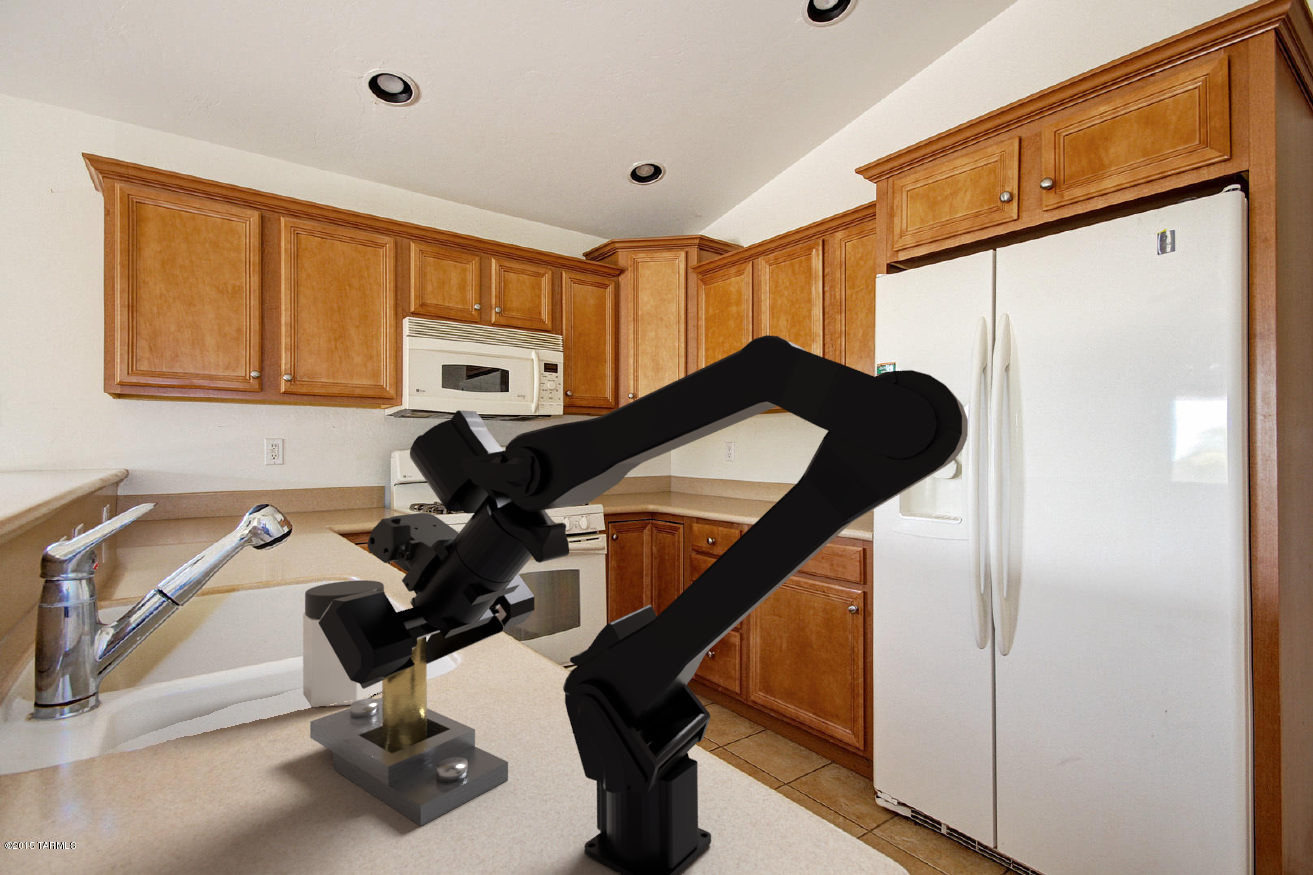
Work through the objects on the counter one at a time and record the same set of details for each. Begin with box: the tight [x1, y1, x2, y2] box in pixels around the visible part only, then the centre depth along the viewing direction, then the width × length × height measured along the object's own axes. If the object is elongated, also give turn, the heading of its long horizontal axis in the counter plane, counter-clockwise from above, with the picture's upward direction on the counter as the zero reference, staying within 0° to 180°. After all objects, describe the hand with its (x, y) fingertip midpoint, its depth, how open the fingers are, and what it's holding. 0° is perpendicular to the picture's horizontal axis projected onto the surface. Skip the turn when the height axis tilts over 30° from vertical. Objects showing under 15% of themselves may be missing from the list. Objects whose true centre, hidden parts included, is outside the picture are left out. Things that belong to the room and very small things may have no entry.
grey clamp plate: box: [309, 697, 509, 827], centre depth 55 cm, size 18×8×4 cm, turn 52°
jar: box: [302, 579, 386, 708], centre depth 72 cm, size 9×8×12 cm
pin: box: [381, 636, 428, 753], centre depth 55 cm, size 4×4×13 cm
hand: (393, 671), depth 55 cm, fingers open, 6 cm apart
